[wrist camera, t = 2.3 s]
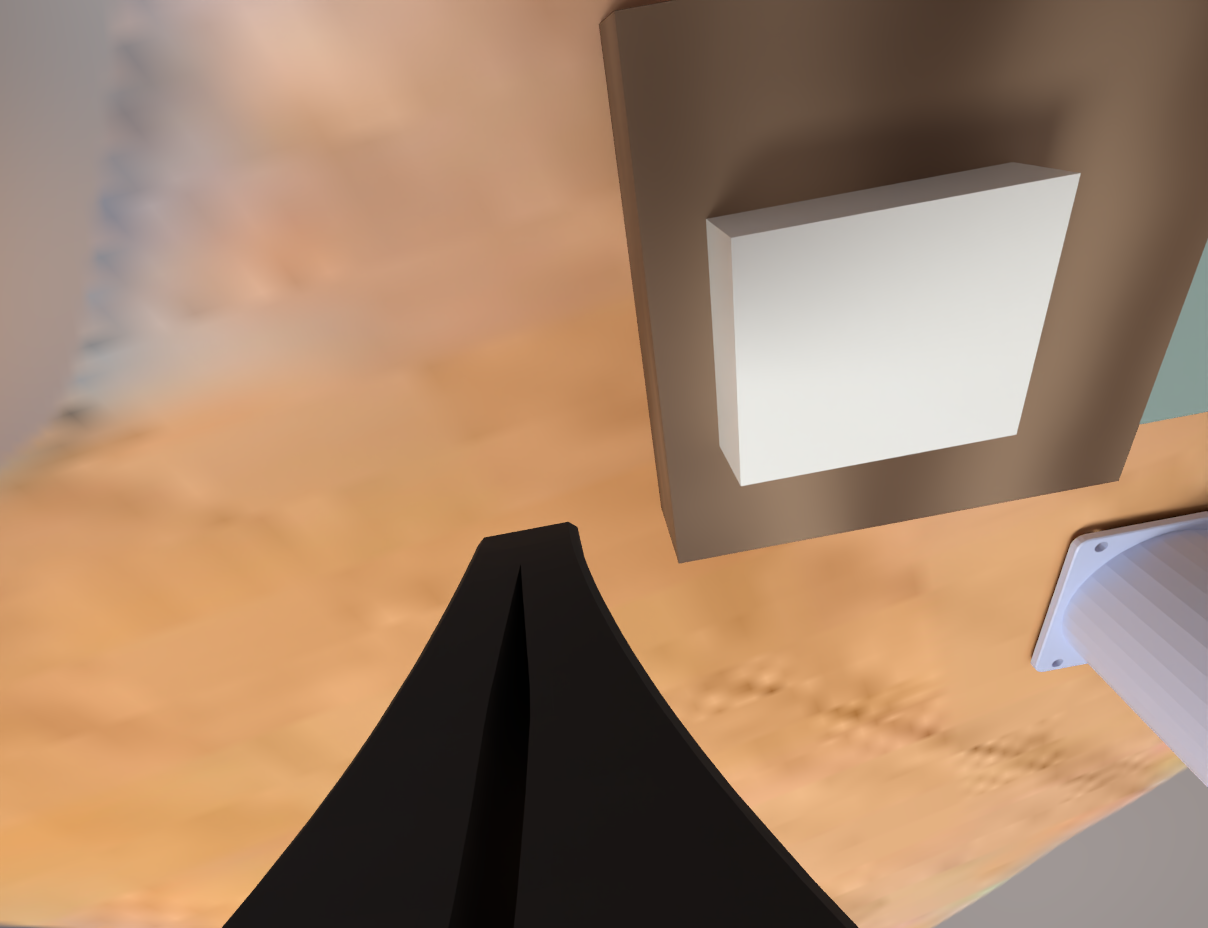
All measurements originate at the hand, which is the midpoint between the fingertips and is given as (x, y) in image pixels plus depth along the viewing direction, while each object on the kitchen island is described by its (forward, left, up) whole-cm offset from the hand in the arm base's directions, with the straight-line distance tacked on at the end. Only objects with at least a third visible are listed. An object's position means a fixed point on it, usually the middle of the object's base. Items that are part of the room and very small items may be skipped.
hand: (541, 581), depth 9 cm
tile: (-8, 0, -7) cm, 11 cm away
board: (-10, 0, -10) cm, 14 cm away
